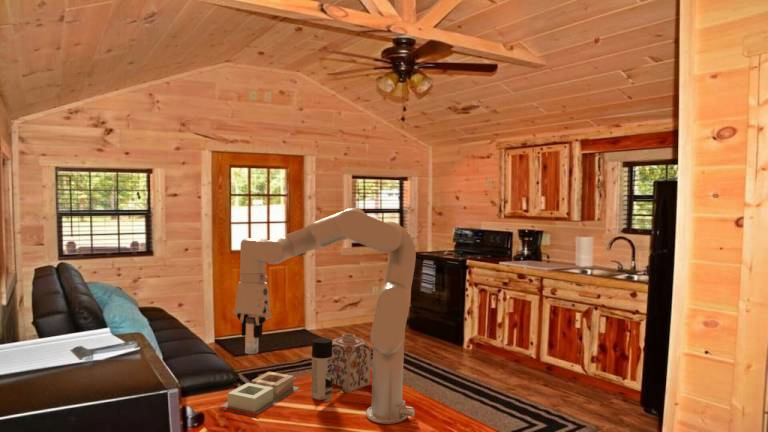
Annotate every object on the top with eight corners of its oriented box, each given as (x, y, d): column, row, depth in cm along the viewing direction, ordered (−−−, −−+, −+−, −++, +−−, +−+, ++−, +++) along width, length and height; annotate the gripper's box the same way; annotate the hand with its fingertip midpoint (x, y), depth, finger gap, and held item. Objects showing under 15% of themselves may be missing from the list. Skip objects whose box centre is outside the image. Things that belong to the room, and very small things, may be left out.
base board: (299, 391, 185) (299, 387, 184) (258, 418, 162) (258, 414, 162) (265, 385, 190) (265, 380, 190) (220, 410, 168) (220, 405, 168)
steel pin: (260, 351, 171) (261, 316, 170) (253, 354, 167) (253, 319, 166) (250, 349, 172) (250, 315, 172) (242, 352, 169) (242, 318, 168)
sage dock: (273, 399, 173) (273, 387, 173) (254, 411, 164) (254, 398, 164) (247, 394, 177) (247, 382, 177) (227, 405, 168) (227, 393, 168)
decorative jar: (324, 385, 191) (325, 335, 191) (347, 376, 200) (348, 329, 199) (348, 394, 184) (350, 342, 183) (371, 385, 193) (372, 335, 192)
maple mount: (293, 387, 184) (293, 375, 184) (276, 397, 175) (276, 385, 175) (268, 382, 188) (268, 371, 188) (251, 392, 179) (251, 380, 179)
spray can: (328, 405, 174) (329, 343, 173) (308, 402, 175) (309, 342, 174) (334, 397, 181) (335, 338, 180) (314, 395, 182) (315, 336, 181)
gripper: (282, 278, 169) (281, 336, 170) (238, 274, 175) (237, 329, 176) (268, 282, 162) (267, 342, 163) (222, 277, 168) (222, 335, 169)
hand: (251, 335), depth 169 cm, fingers closed on steel pin, 4 cm apart
